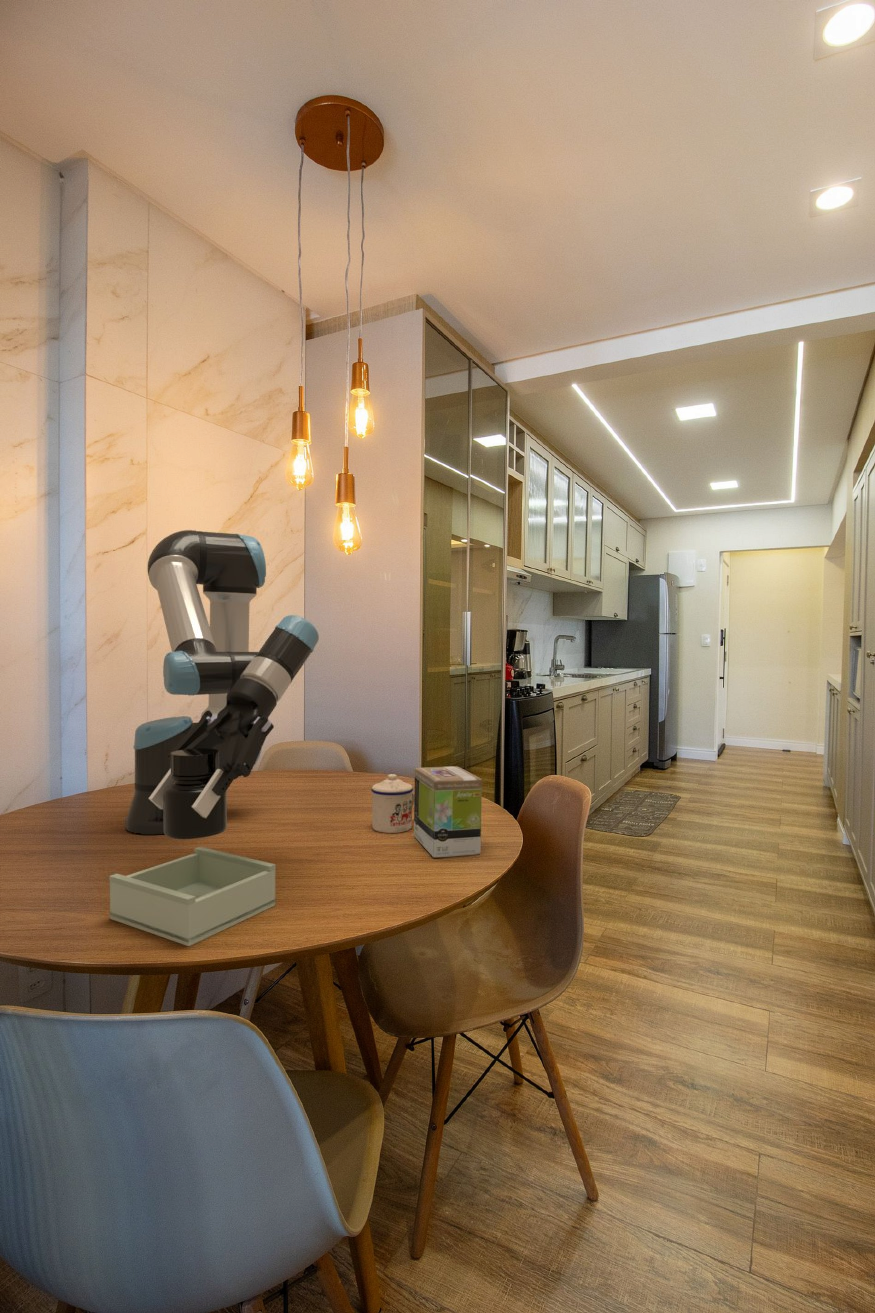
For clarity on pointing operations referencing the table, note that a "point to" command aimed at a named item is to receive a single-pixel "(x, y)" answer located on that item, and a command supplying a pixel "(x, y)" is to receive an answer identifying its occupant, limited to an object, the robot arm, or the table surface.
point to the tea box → (448, 811)
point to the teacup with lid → (392, 805)
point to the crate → (193, 895)
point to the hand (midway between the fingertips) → (176, 808)
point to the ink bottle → (192, 795)
